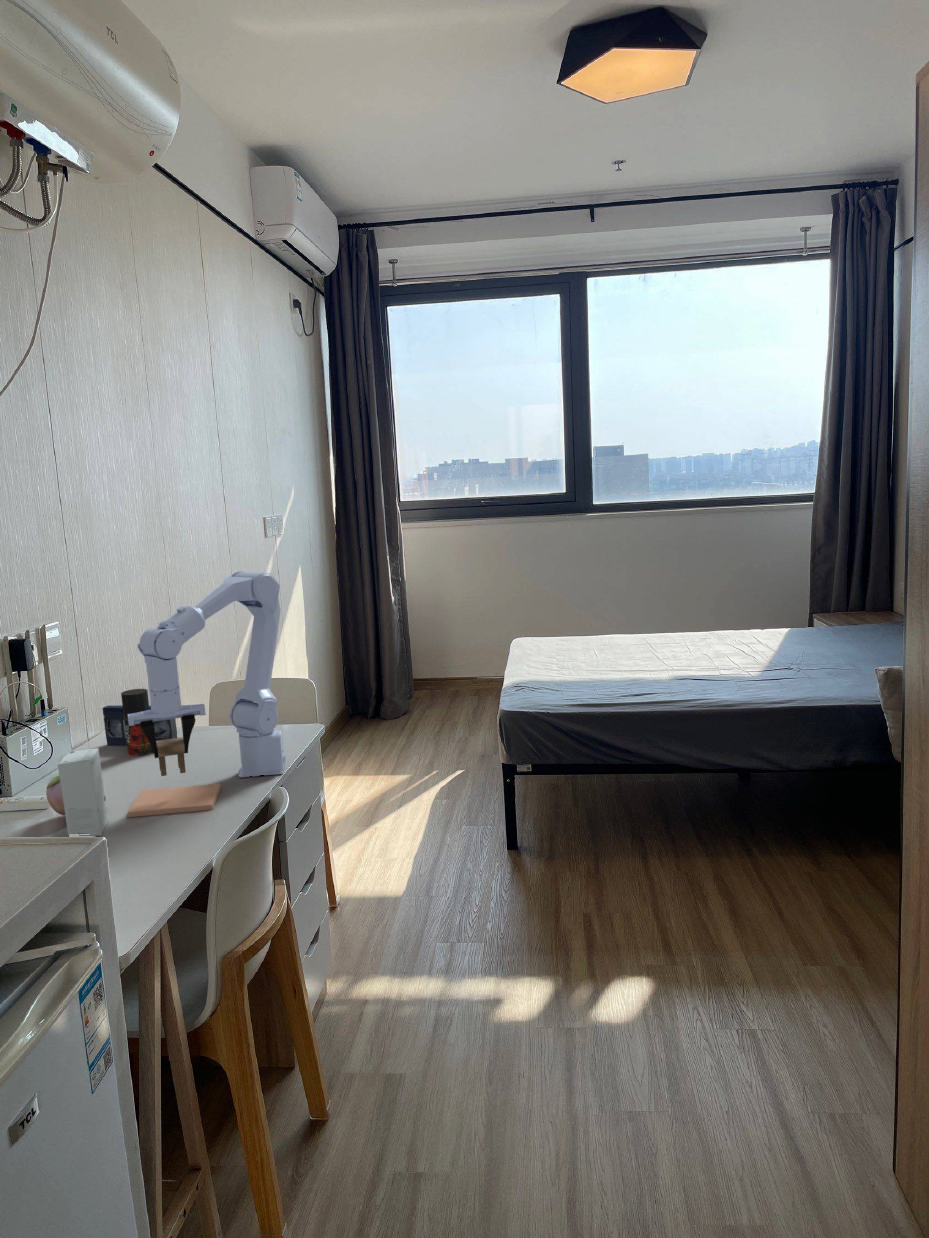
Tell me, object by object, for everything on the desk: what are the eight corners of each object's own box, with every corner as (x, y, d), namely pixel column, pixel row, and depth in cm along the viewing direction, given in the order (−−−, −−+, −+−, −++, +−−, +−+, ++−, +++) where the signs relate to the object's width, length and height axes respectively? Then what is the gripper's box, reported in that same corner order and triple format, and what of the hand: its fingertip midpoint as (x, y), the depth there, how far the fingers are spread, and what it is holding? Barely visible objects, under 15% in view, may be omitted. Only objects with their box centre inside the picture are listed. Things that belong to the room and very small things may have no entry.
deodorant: (122, 754, 209) (115, 694, 206) (140, 747, 214) (133, 688, 212) (142, 756, 207) (135, 695, 204) (159, 749, 212) (152, 689, 209)
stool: (184, 765, 178) (181, 737, 177) (186, 772, 174) (184, 743, 173) (158, 769, 177) (156, 740, 176) (160, 776, 172) (157, 747, 171)
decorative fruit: (81, 805, 177) (75, 758, 175) (107, 811, 173) (101, 763, 171) (38, 822, 169) (32, 773, 167) (65, 829, 165) (59, 778, 163)
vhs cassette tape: (106, 746, 217) (101, 707, 215) (113, 742, 220) (109, 704, 218) (172, 748, 213) (168, 708, 211) (179, 744, 216) (175, 705, 214)
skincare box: (101, 837, 160) (92, 759, 158) (66, 841, 159) (56, 763, 156) (109, 820, 168) (100, 746, 166) (76, 824, 167) (66, 750, 164)
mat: (220, 788, 183) (220, 783, 183) (212, 809, 171) (212, 804, 171) (142, 795, 181) (141, 790, 181) (128, 817, 169) (127, 812, 169)
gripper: (200, 679, 178) (206, 743, 181) (124, 689, 173) (132, 754, 175) (203, 686, 172) (210, 752, 174) (125, 696, 167) (133, 764, 169)
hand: (171, 754), depth 174 cm, fingers closed on stool, 5 cm apart
